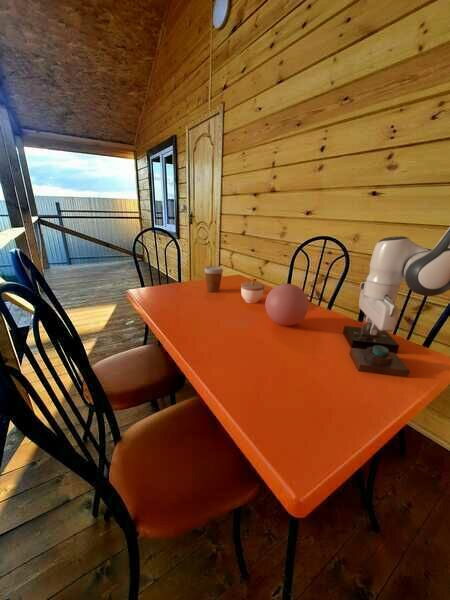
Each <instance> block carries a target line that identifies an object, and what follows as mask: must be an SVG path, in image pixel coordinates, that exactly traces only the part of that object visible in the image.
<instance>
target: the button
mask: <svg viewBox="0 0 450 600" xmlns="http://www.w3.org/2000/svg"><path fill="white" fill-rule="evenodd" d="M372 353H373V354H375V355H377V356H381V357H387V354H388V349H387V348H386V347H383V346H380V345H375V346H373V350H372Z"/></svg>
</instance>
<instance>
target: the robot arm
mask: <svg viewBox="0 0 450 600" xmlns="http://www.w3.org/2000/svg"><path fill="white" fill-rule="evenodd" d="M402 282H405V284H406V286H407V287H408V289H409V290H410V291H412V292H413V293H415V294H417V295H420V296H425V297H433V296H439V295H442V294H444V293H446V292H448V291H450V226H449V227H448V229H447V230H445V232H444V233H443V235H442V236H441V238H440V239H439V241H438V242H437V243H436V244H435V246H433V248H432V249H431V250H430V249H428V248H426V247H423V246H421V245H419V244H417V243H415V241H413V240H411V239H410V238H409V237H408V236H402V235H401V236H388V237H383V238H381V239H380V240H379V241H377V243H376V244H375V246H374V249H373V251H372V254H371V258H370V262H369V273H368V275H367V276H366V281H361V282H360V286H359V289H361V290H360V292H359V298H358V308H359V309H360V310H361V311H362V312H363V314H364V315H365V316H366V318H365V321H367V322H371V323H372V327H371V328H370V329H369V333H370V334H371V335H376V334H377V330H378V329H379V330H381V331H386V332H391V333H392V332H393V331H394V330H395V329H396V325H397V319H398V314H399V308H398V306H397V305H396V304H395V303H396V300H397V298H398V294H399V290H400V287H401V283H402Z"/></svg>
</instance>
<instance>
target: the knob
mask: <svg viewBox="0 0 450 600" xmlns="http://www.w3.org/2000/svg"><path fill="white" fill-rule="evenodd" d="M371 327H372V323H371V322H367V321H366V320H363V321H362V323H361V331H360V333H361V334H362V335H369V336H379V337H380V334H381V330H379V329H378V330H377V334H376V335H371V334H370V333H369V329H370V328H371Z"/></svg>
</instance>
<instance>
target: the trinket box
mask: <svg viewBox="0 0 450 600" xmlns="http://www.w3.org/2000/svg"><path fill="white" fill-rule="evenodd" d="M264 291H265V284H263V283H260V282H257V281H256V282H255V280H254V281H244V282H242V283H241V284H240V294H241V297H242V299H243V300H244V301H245V302H246V303H248V304H257V303H259V301H260V300H262V298H263V296H264Z"/></svg>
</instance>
